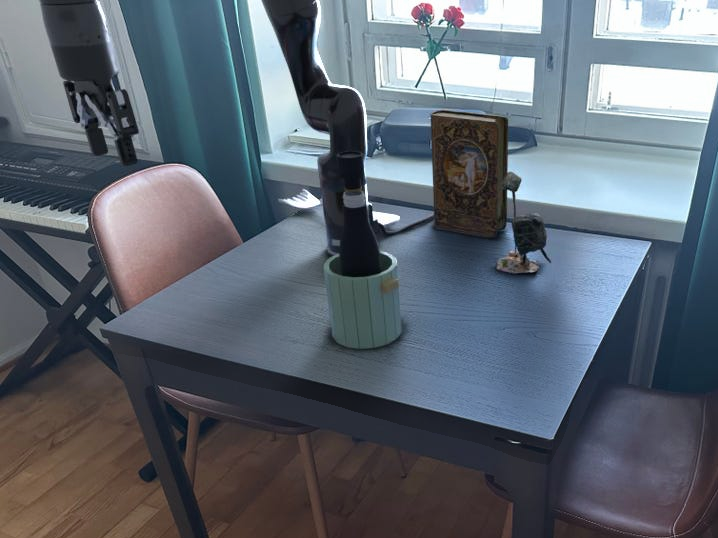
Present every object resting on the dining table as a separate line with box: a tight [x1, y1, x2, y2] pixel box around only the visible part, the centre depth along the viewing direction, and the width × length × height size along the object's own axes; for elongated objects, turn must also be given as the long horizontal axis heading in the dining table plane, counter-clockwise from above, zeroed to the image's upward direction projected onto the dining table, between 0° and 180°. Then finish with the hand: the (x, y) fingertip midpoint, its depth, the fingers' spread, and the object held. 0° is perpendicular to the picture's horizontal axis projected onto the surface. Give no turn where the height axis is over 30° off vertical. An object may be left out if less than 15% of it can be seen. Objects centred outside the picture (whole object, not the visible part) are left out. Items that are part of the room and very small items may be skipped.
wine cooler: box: [323, 250, 402, 350], centre depth 116 cm, size 12×14×12 cm
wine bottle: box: [337, 151, 381, 277], centre depth 111 cm, size 6×6×30 cm
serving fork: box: [277, 188, 400, 229], centre depth 164 cm, size 9×32×4 cm, turn 59°
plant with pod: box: [493, 171, 552, 275], centre depth 135 cm, size 8×11×20 cm
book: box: [429, 109, 509, 239], centre depth 152 cm, size 16×6×25 cm, turn 65°
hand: (114, 159), depth 103 cm, fingers open, 8 cm apart
